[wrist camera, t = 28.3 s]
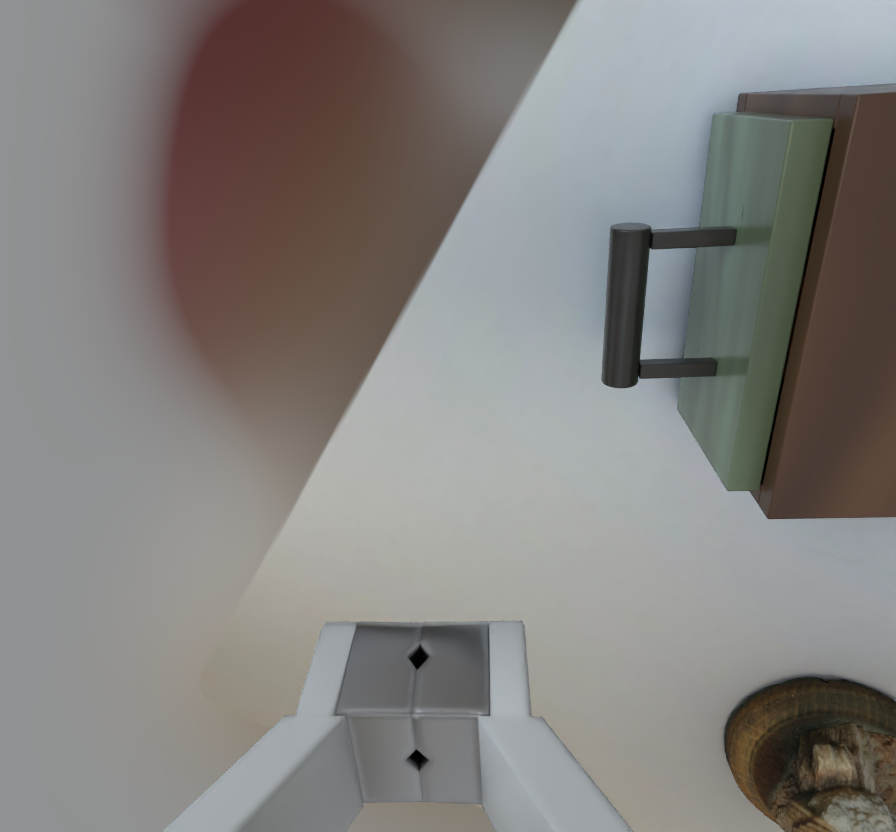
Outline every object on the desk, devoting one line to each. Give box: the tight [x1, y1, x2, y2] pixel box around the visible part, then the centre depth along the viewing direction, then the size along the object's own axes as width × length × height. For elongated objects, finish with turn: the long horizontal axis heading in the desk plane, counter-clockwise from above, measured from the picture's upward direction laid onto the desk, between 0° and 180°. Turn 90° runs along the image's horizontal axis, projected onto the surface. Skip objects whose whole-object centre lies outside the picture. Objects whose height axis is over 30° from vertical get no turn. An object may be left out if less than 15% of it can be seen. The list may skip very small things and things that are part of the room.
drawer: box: [601, 111, 835, 491], centre depth 23 cm, size 19×13×7 cm, turn 93°
